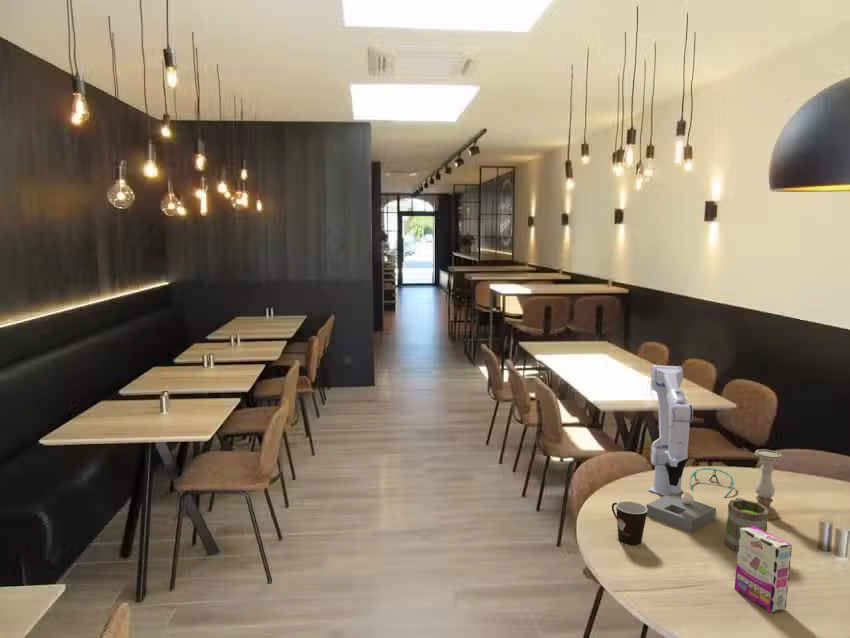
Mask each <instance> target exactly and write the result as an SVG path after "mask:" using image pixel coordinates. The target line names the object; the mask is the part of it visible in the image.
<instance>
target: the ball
mask: <svg viewBox="0 0 850 638" xmlns="http://www.w3.org/2000/svg"><path fill="white" fill-rule="evenodd" d="M681 496H682V497H681V499H682V501H683V502H684V503H685V504H690V503H692V502H693V500H694V496H693V494H691V493H690V492H684V493H682V495H681Z"/></svg>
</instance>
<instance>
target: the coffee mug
mask: <svg viewBox="0 0 850 638" xmlns="http://www.w3.org/2000/svg"><path fill="white" fill-rule="evenodd" d="M615 507H616V510H615ZM611 511H612V514H613V516H614V518H615V519H616V523H617V538H618V539H617V540H618V541H619V543H622V544H623V545H626V544H627V546H639V545H641V544H642V540H643V535H644V531H645V525H646V521H647V520H646V519H647V517H648V516H647V511H648V509H647V507H646V505H645V504H642V503H639V502H636V501H631V500H630V501H629V500H627V501H626V500H623V501H619V502H613V503H612V505H611Z"/></svg>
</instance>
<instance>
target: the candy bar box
mask: <svg viewBox="0 0 850 638" xmlns="http://www.w3.org/2000/svg"><path fill="white" fill-rule="evenodd" d="M792 548H793V545H792V544H790V543H789V542H787V541H785V540H783V539H781V538H779V537H777V536H775V535H773V534H771V533H769V532H768V531H767V532H765V531H763V530H761V529H759V528H757V527H755V526H749V527H743V528H740V533H739V544H738V553H737V556H736V557H737V558H736V567H735V569H736V571H735V580H734V590H735V591H737V593H740V594H742V595H743V596H744V597H746V598H748V599H749V600H751V601H753V602H754V603H755V604H757V605H759V606H760V607H762V608H764V609H765V610H766V611H768V612H769V611H770V612H769V613H772V612H773V613H776V612H775V611H777V612H780V611H779V610H782V611H785V610H786V609H787V599H788V589H789V579H790V568H791V559H792V550H793V549H792ZM784 609H785V610H784Z"/></svg>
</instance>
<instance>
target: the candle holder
mask: <svg viewBox="0 0 850 638" xmlns="http://www.w3.org/2000/svg"><path fill="white" fill-rule="evenodd" d="M754 456H756V457H758V458H759V459H760V461H761V462H762V465H761V466H760V469H761V476H760V480H759V481H758V482H757V484H756V485H755V493H756V496H755V499H756V501H757V503H760V504H762V505H763V506H765V507H767V508H768V509H769V512H768V517H767V521H768V520H769V521H771V520H772V521H773V520H777V519H778V518H779V512H778V511H777V510H776V509H775V508H774V507H773V506H771V504H772V503H773V500H774V499H773V498H772V497H774V495H775V493H776V492H775V487H774V485H773V481H772V476H773V475H772V473H773V472H774V471H775V468H774V467H773V464H774V463H776V461H779V460H782V459H783V455H782V454H781V453H779V452H778V451H775V450H770V449H765V448H764V449H763V448H761V449H757V450H755V451H754Z"/></svg>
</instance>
